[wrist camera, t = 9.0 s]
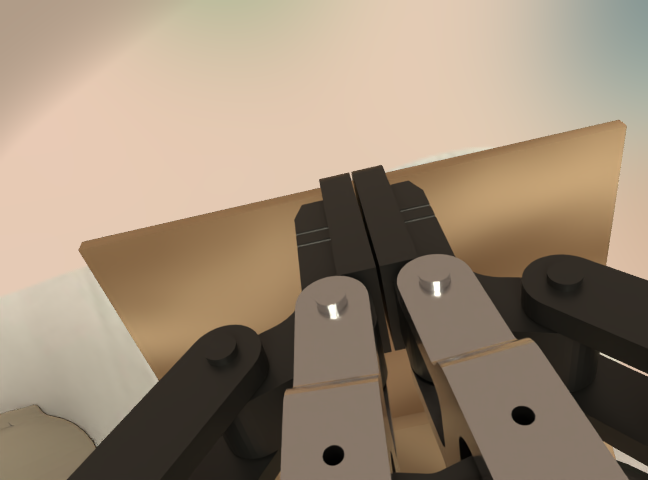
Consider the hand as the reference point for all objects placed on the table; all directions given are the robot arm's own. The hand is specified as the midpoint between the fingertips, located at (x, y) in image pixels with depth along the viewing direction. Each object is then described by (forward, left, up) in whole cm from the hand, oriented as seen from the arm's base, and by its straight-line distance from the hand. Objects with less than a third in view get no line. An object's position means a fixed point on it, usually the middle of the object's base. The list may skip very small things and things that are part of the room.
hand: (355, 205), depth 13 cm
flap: (+3, -2, -11) cm, 11 cm away
